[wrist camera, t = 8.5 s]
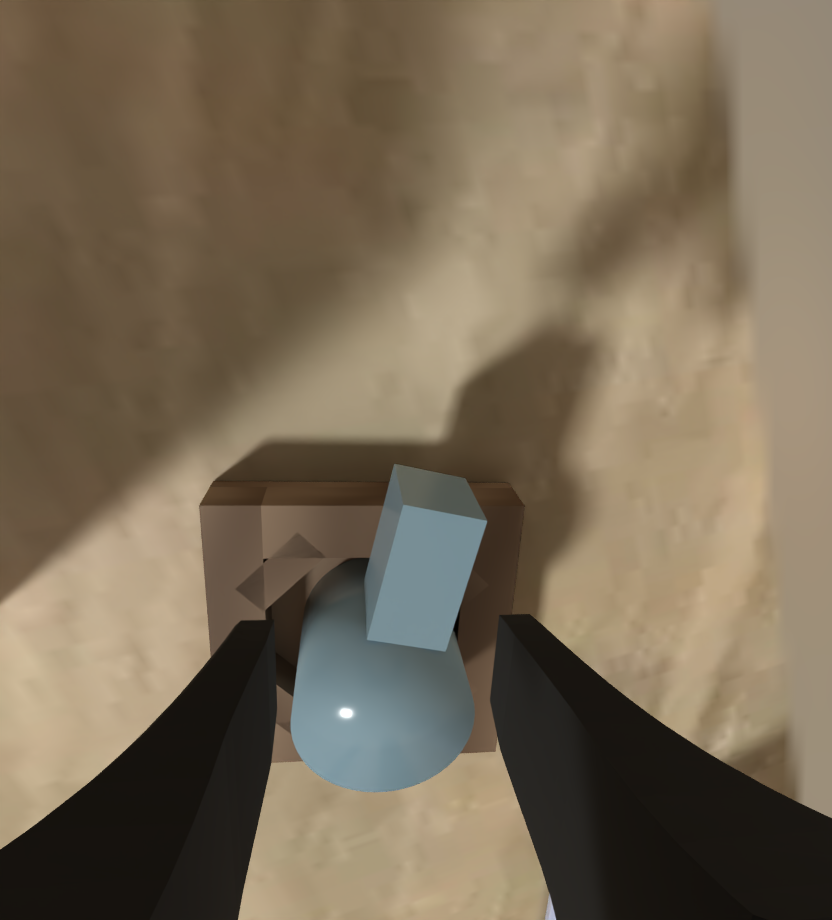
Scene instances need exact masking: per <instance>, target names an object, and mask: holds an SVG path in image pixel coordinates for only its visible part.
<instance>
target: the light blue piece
mask: <svg viewBox="0 0 832 920" xmlns="http://www.w3.org/2000/svg"><path fill="white" fill-rule="evenodd" d="M486 524H487V519H486V517H485V515H484V513H483V511H482V510H481V508H480V506H479V504H478V502H477V500H476V498H475V496H474V494H473V492H472V490H471V488H470V486H469V484H468V482H467V481H466V479H465V478H462V477H457V476H452V475H447V474H442V473H438V472H433V471H428V470H423V469H418V468H413V467H409V466H404V465H399V464H394V467H393V471H392V474H391V478H390V482H389V486H388V490H387V494H386V498H385V501H384V505H383V509H382V513H381V517H380V521H379V525H378V528H377V532H376V536H375V540H374V544H373V548H372V552H371V555H370V558H355V559H352V560H349V561H347V562H344V563H342V564H340V565H338V566H336V567H335V568H333V569H332V570H330V571H329V572H328V573H327V574H325V575H324V576H323V577H322V578H321V579H320V580H319V581H318V582H317V584H316V585H315V586H314V588H313V589H312V591H311V592H310V595H309V597H308V599H307V601H306V605H305V608H304V614H303V622H302V630H301V639H300V647H299V655H298V664H297V672H296V680H295V688H294V697H293V705H292V713H291V734H292V740H293V742H294V745H295V748H296V750H297V752H298V754H299V755H300V757H301V758H302V760H303V761H304V762H305V764H306V765H307V766H308V767H309V768H310V769H311V770H312V771H313V772H315V773H316V774H317V775H319V776H320V777H322V778H323V779H325V780H327V781H329V782H331V783H333V784H335V785H338V786H340V787H343V788H347V789H351V790H356V791H363V792H387V791H394V790H400V789H404V788H408V787H411V786H414V785H416V784H419V783H421V782H423V781H426V780H428V779H430V778H431V777H433V776H435V775H436V774H438V773H440V772H441V771H442V770H443V769H445V768H446V767H447V766H448V765H449V764H450V763H452V762H453V761H454V760H455V759H456V757H457V756H458V755H459V754H460V752H461V751H462V750H463V748H464V746H465V745H466V743H467V741H468V739H469V737H470V735H471V732H472V728H473V724H474V717H475V708H474V701H473V696H472V693H471V689H470V685H469V682H468V678H467V675H466V671H465V668H464V664H463V660H462V657H461V653H460V650H459V646H458V643H457V639H456V636H455V632H454V628H453V627H454V624H455V621H456V618H457V614H458V611H459V608H460V605H461V602H462V599H463V596H464V593H465V589H466V586H467V583H468V580H469V577H470V574H471V571H472V568H473V564H474V561H475V558H476V555H477V552H478V549H479V546H480V543H481V539H482V536H483V533H484V530H485V527H486Z"/></svg>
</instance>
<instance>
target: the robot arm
mask: <svg viewBox="0 0 832 920" xmlns="http://www.w3.org/2000/svg"><path fill="white" fill-rule="evenodd" d="M490 704H491V708H492V713H493V718H494V723H495V728H496V732H497V736H498V741H499V745H500V750H501V753H502V756H503V759H504V762H505V765H506V768H507V770H508V773H509V776H510V779H511V782H512V785H513V788H514V791H515V794H516V796H517V799H518V802H519V805H520V808H521V811H522V814H523V816H524V819H525V822H526V825H527V828H528V831H529V833H530V836H531V839H532V842H533V845H534V848H535V851H536V853H537V856H538V859H539V862H540V865H541V868H542V871H543V874H544V877H545V881H546V884H547V887H548V890H549V899H548V905H547V911H546V916H545V920H832V818H830V817H828V816H825V815H823V814H821V813H819V812H817V811H815V810H813V809H811V808H809V807H807V806H804V805H802V804H800V803H798V802H796V801H794V800H792V799H790V798H788V797H786V796H784V795H782V794H780V793H778V792H776V791H774V790H773V789H771V788H769V787H767V786H765V785H763V784H761V783H759V782H758V781H756V780H754V779H752V778H750V777H749V776H747V775H745V774H743V773H741V772H740V771H738V770H736V769H734V768H733V767H731V766H729V765H727V764H725V763H724V762H722V761H720V760H719V759H717V758H715V757H714V756H712V755H710V754H709V753H707V752H705V751H704V750H702V749H700V748H699V747H697V746H696V745H694V744H693V743H691V742H690V741H688V740H687V739H685V738H684V737H682V736H681V735H679V734H677V733H676V732H674V731H673V730H671V729H670V728H668V727H667V726H665V725H664V724H662V723H661V722H660V721H658V720H657V719H655V718H654V717H653V716H651V715H650V714H648V713H647V712H646V711H644V710H643V709H642V708H640V707H639V706H638V705H636V704H635V703H634V702H633V701H631V700H630V699H629V698H627V697H626V696H625V695H623V694H622V693H621V692H619V691H618V690H617V689H616V688H614V687H613V686H612V685H611V684H609V683H608V682H607V681H606V680H605V679H603V678H602V677H601V676H600V675H599V674H597V673H596V672H595V671H594V670H593V669H591V668H590V667H589V666H588V665H587V664H586V663H584V662H583V661H582V660H581V659H580V658H579V657H578V656H576V655H575V654H574V653H573V652H572V651H571V650H570V649H568V648H567V647H566V646H565V645H564V644H563V643H562V642H561V641H559V640H558V639H557V638H556V637H555V636H554V635H553V634H552V633H551V632H549V631H548V630H547V629H546V628H545V627H544V626H543V625H542V624H541V623H539V622H538V621H537V620H536V619H535V618H534V617H532V616H531V615H530V614H515V615H499V621H498V630H497V639H496V648H495V657H494V666H493V675H492V685H491V694H490ZM276 716H277V686H276V657H275V628H274V620H241V621H240V622H239V623H238V624H236V625H235V626H234V628H233V629H232V631H231V632H230V633H229V635H228V636H227V637H226V639H225V640H224V641H223V643H222V644H221V645H220V647H219V648H218V649H217V650H216V652H215V653H214V654H213V655H212V657H211V658H210V659H209V660H208V662H207V663H206V664H205V665H204V667H203V668H202V669H201V670H200V671H199V673H198V674H197V675H196V676H195V677H194V678H193V680H192V681H191V682H190V683H189V684H188V685H187V687H186V688H185V689H184V690H183V691H182V692H181V694H180V695H179V696H178V697H177V698H176V699H175V700H174V701H173V702H172V704H171V705H170V706H169V707H168V708H167V709H166V710H165V711H164V712H163V713H162V714H161V715H160V716H159V717H158V718H157V719H156V720H155V721H154V722H153V723H152V724H151V725H150V727H149V728H148V729H147V730H146V731H145V732H144V733H143V734H142V735H141V736H140V737H139V738H138V739H137V740H136V741H134V742H133V743H132V744H131V745H130V746H129V747H128V748H127V749H126V750H125V751H124V752H123V753H122V754H121V755H120V756H119V757H118V758H116V759H115V760H114V761H113V762H112V763H111V764H110V765H109V766H107V767H106V768H105V769H104V770H103V771H102V772H101V773H100V774H98V775H97V776H96V777H95V778H94V779H93V780H91V781H90V782H89V783H88V784H87V785H85V786H84V787H83V788H82V789H80V790H79V791H78V792H77V793H75V794H74V795H73V796H72V797H70V798H69V799H68V800H66V801H65V802H64V803H63V804H61V805H60V806H59V807H57V808H56V809H55V810H54V811H52V812H51V813H50V814H48V815H47V816H46V817H45V818H43V819H42V820H41V821H39V822H38V823H37V824H36V825H34V826H33V827H32V828H30V829H29V830H27V831H26V832H25V833H23V834H22V835H20V836H19V837H18V838H16V839H15V840H13V841H12V842H10V843H9V844H8V845H6V846H5V847H3V848H2V849H0V920H238V915H239V910H240V905H241V899H242V894H243V888H244V884H245V879H246V875H247V870H248V866H249V861H250V857H251V852H252V848H253V843H254V839H255V834H256V830H257V825H258V821H259V816H260V812H261V807H262V803H263V798H264V794H265V789H266V785H267V780H268V775H269V771H270V766H271V761H272V753H273V744H274V735H275V725H276Z"/></svg>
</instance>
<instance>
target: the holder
mask: <svg viewBox="0 0 832 920" xmlns="http://www.w3.org/2000/svg"><path fill="white" fill-rule="evenodd" d="M468 484H469V486H470V488H471V490H472V492H473V494H474V496H475V498H476V500H477V502H478V504H479V506H480V508H481V510H482V511H483V513H484V515H485V517H486V519H487V524H486V527H485V530H484V533H483V536H482V539H481V543H480V546H479V549H478V552H477V555H476V558H475V561H474V564H473V568H472V571H471V574H470V577H469V580H468V583H467V586H466V589H465V593H464V596H463V599H462V602H461V605H460V608H459V611H458V614H457V618H456V621H455V624H454V627H453V628H454V632H455V636H456V639H457V643H458V646H459V650H460V653H461V657H462V660H463V664H464V668H465V671H466V675H467V678H468V682H469V685H470V689H471V693H472V696H473V701H474V708H475V717H474V724H473V728H472V732H471V735H470V737H469V739H468V741H467V743H466V745H465V746H464V748H463V750H462V751H461V752H460V753H477V752H495V751H496V743H497V732H496V728H495V723H494V718H493V713H492V708H491V704H490V694H491V685H492V675H493V666H494V657H495V648H496V639H497V630H498V621H499V615H512V608H513V600H514V591H515V583H516V574H517V566H518V557H519V549H520V540H521V532H522V524H523V515H524V507H525V506H524V504H523V503H522V501H521V500H520V499H519V497H518V496H517V494H516V493H515V491H514V490H513V488H512V487H511V486H510V484H509V483H468ZM388 486H389V482H269V481H213V483H212V484H211V486H210V488H209V490H208V491H207V493H206V495H205V497H204V498H203V500H202V502H201V503H200V505H199V509H200V522H201V535H202V548H203V561H204V574H205V587H206V600H207V613H208V626H209V639H210V652H211V657H212V655H213V654H214V653H215V652H216V650H217V649H218V648H219V647H220V645H221V644H222V643H223V641H224V640H225V639H226V637H227V636H228V635H229V633H230V632H231V631H232V629H233V628H234V626H235V625H236V624H238V623H239V622H240V621H241V620H274V628H275V657H276V686H277V716H276V725H275V735H274V744H273V753H272V761H271V763H275V762H295V761H303V760H302V758H301V757H300V755H299V754H298V752H297V750H296V748H295V745H294V742H293V740H292V734H291V713H292V705H293V697H294V688H295V680H296V672H297V664H298V655H299V647H300V639H301V630H302V622H303V614H304V608H305V605H306V601H307V599H308V597H309V595H310V592H311V591H312V589H313V588H314V586H315V585H316V584H317V582H318V581H319V580H320V579H321V578H322V577H323V576H324V575H325V574H327V573H328V572H329V571H330V570H332V569H333V568H335V567H336V566H338V565H340V564H342V563H344V562H347V561H349V560H352V559H355V558H370V555H371V552H372V548H373V544H374V540H375V536H376V532H377V528H378V525H379V521H380V517H381V513H382V509H383V505H384V501H385V498H386V494H387V490H388Z"/></svg>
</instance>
